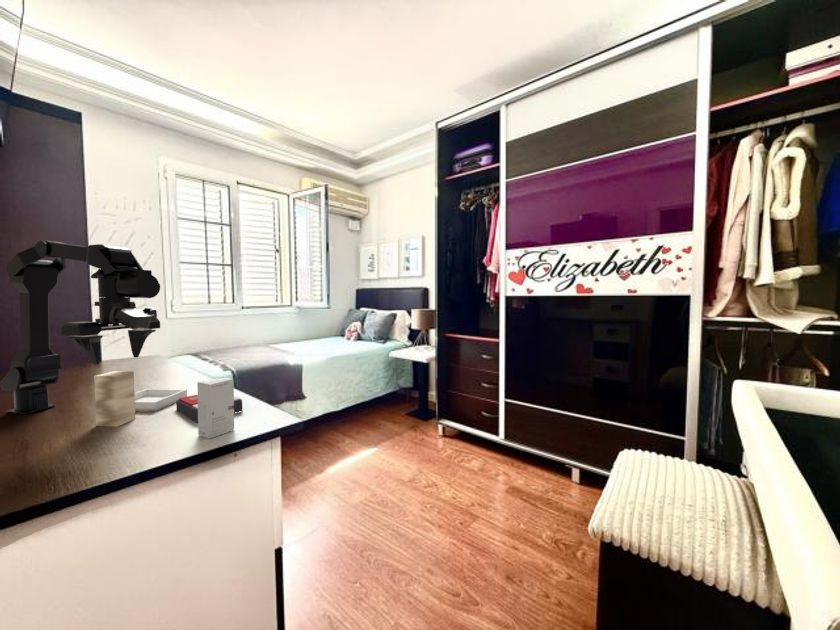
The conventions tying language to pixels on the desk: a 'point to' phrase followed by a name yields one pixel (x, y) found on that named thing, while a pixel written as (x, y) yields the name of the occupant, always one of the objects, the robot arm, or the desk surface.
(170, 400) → the white tray
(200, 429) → the skincare box
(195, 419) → the calculator
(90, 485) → the desk surface
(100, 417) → the birch block
